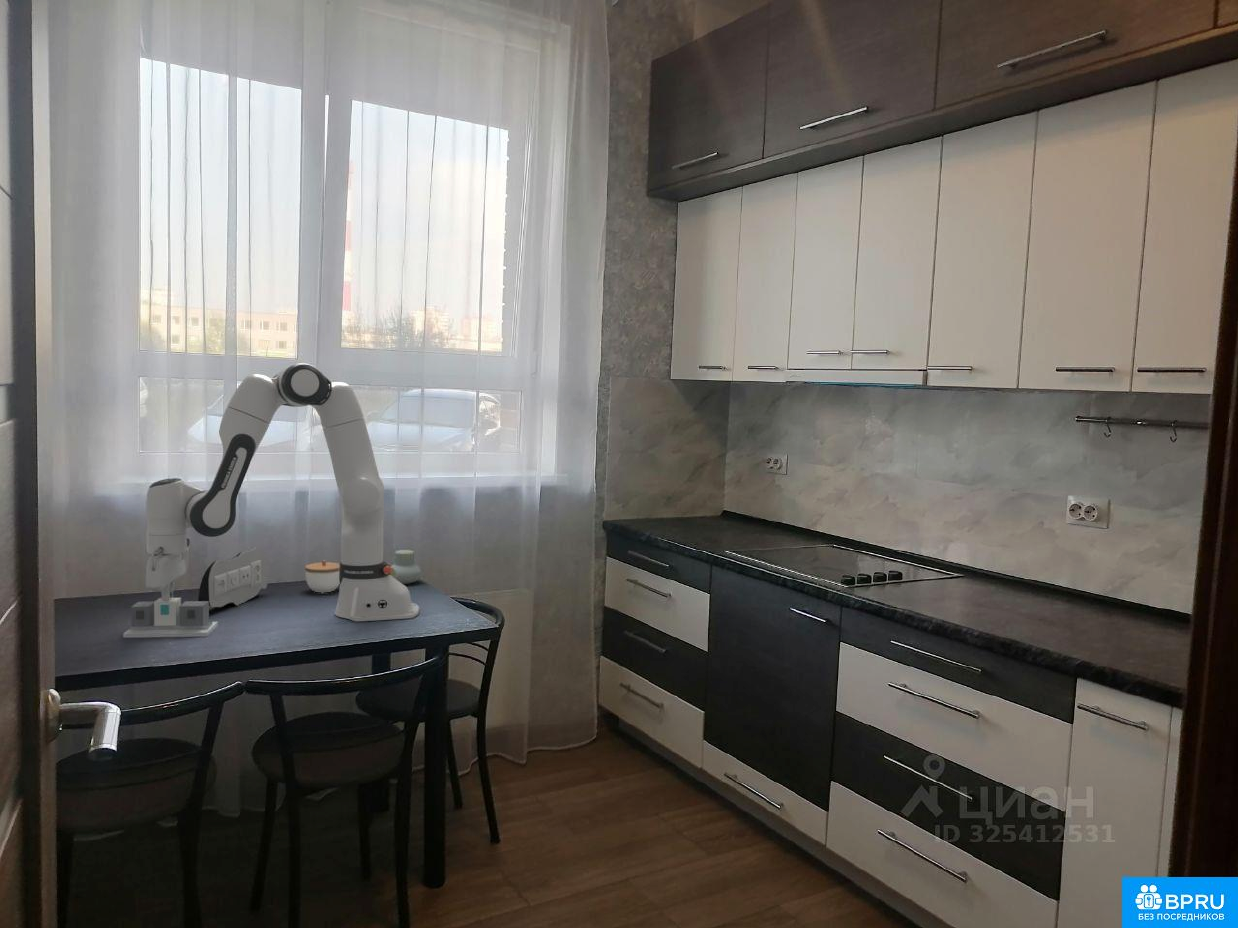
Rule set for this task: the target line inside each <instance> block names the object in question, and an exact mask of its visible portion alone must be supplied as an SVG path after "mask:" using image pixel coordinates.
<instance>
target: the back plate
mask: <svg viewBox="0 0 1238 928" xmlns="http://www.w3.org/2000/svg"><path fill="white" fill-rule="evenodd" d="M218 626H219V621H213V625H212V626H211V627H210V628H209V629H187V630H130V628H129V629H128V630H126V631H125V632H123V635H122V637H123V639H124V638H125V639H127V638H128V639H131V638H140V639H141V638H187V637H188V638H189V637H190V638H191V637H192V638H193V637H194V638H195V637H201V638H202V637H204V638H205V637H208V636H209V635H210V634H211V633H212V632H213V631H214V630H215V629H216V628H217V627H218Z"/></svg>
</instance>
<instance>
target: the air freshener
mask: <svg viewBox="0 0 1238 928" xmlns="http://www.w3.org/2000/svg"><path fill="white" fill-rule="evenodd" d="M390 566H391V572H390V575H391V576H392V577H394V578H395V579H396V580H398V581H399V582H400V583H402V584H403V585H409V584H414V583H416V582H417V581H419V580H420V579H421V576H422V571H421V568H420V567H419V565H417V564H415V551H413V550H410V549H399V550H396V551H395V552H394V564H393V565H390Z"/></svg>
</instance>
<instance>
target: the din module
mask: <svg viewBox="0 0 1238 928" xmlns="http://www.w3.org/2000/svg"><path fill="white" fill-rule="evenodd" d="M153 602H154V626H170V625H177V624H178V623H179V606H180V605H182V597H173V598H171V599H170V600H169V601H163V600H162V597H159V598H157V599H156V600H154V601H153Z"/></svg>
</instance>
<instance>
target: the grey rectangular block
mask: <svg viewBox="0 0 1238 928" xmlns="http://www.w3.org/2000/svg"><path fill="white" fill-rule="evenodd" d="M213 622H214V621H212V620H209V621H208V622H207V623H206V624H205V625H204V626H180V623H178V624H177V625H170V626H154V623H153V624H152V625H150V626H149V627H131V625H130V626H129V629H130V630H187V629H209V628H210V627H211V626H212V625H213Z"/></svg>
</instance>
